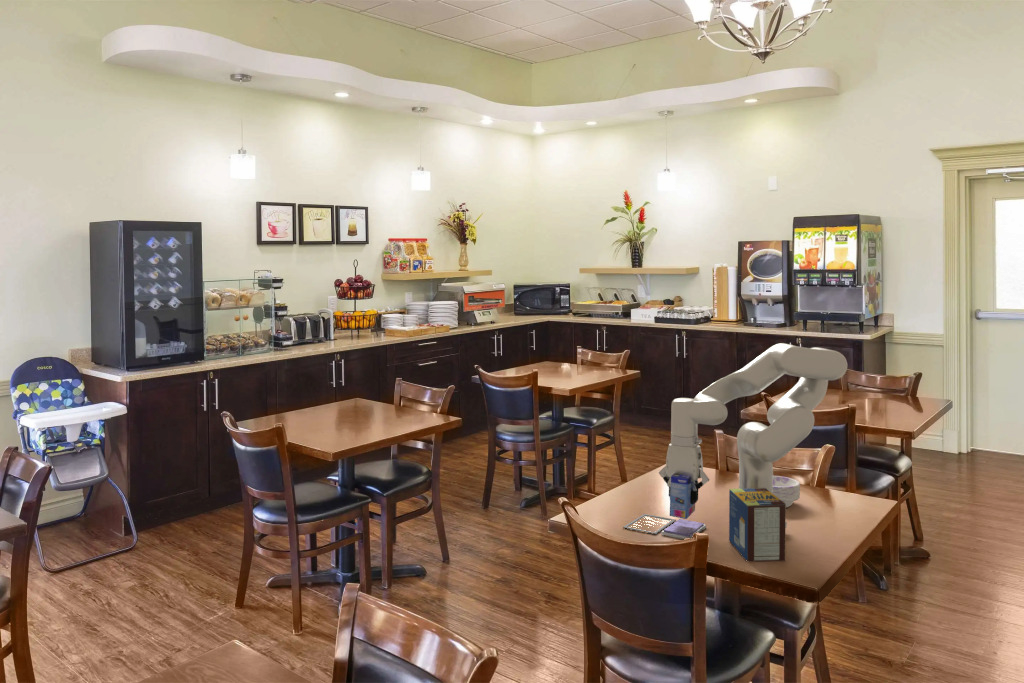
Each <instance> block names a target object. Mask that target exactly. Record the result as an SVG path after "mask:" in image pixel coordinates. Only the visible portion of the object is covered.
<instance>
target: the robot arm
mask: <svg viewBox="0 0 1024 683" xmlns="http://www.w3.org/2000/svg"><path fill="white" fill-rule="evenodd" d="M847 371H848V362H847V358H846V357H845V356H844V354H842V353H841V352H839V351H837V350H833V349H828V348H823V347H804V346H798V345H793V344H789V343H784V342H783V343H782V342H781V343H776V344H774V345H772V346H770V347H768V348H767V349H766V350H765V351H764V352H762V353H760V355H758V356H757V357H756V358H754V359H753V360H751V361H750V362H748V363H747V364H746V365H744V366H743V367H742V368H740V369H739V370H736V371H734V372H732V373H730V374H728V375H726V376H724V377H722V378H720V379H718V380H716V381H715V382H712V383H711V384H710V385H709V386H707V387H706V388H704V389H702V391H699V393H698V394H696V395H695V397H694V398H691V397H690V398H689V397H678V398H674V399H673V400H672V401H671V406H670V407H671V411H670V412H671V413H670V414H671V417H670V418H671V419H670V443H669V444H668V448H667V452H666V460H665V465H664V467H662V468H661V469H660V470H659V472H658V475H659V476H660V477H661V478H662V479H663V481H664V482H665V483H666V486H667V487H668V497H669V498H670V489H671V476H672V475H673V474H681V475H686V476H690V478H691V486H692V491H691V502H690V503H691V504H694V503H695V504H697V502H698V501H699V490H700V489H701V488H702V487H703V486H704V485H706V484H707V483H708V482H709V481H710V478H709V476H708V475H707V474H706V473H705V471H704V463H703V455H702V449H701V446H700V445H699V444H702V443H703V440H702V438H699V435H698V432H699V431H698V428H699V427H698V425H708V426H716V425H720V424H722V423H724V422H725V420H726V419H727V417H728V408H727V406H726V404H727V403H729V402H731V401H733V400H736V399H738V398H744V397H749V396H754V395H756V394H759V393H760V392H762V391H763V390H765V389H766V388H767V387H770V385H772V383H774V382H775V381H777V380H778V379H780V378H781V377H783V376H784V375H788V376H793V377H798V378H799V379H798V381H797V382H796V383H795V384H794V385H793V387H791V389H789V390H788V391H787V392H786V393H785V394H783V395H782V396H781V397H780V398H779V399H777V400H776V401H775V402H774V403H773V404H772V405H771V406H770V407H769V408H768V410H767V413H766V419H767V421H768V423H769V424H770V425H769V426H768V425H766V424H763V423H762V422H758V421H750V422H749V421H748V422H747V423H744V424H743V425H742V426H741V427H740V428H739V430H738V432H737V435H736V447H737V454H738V468H739V469H738V489H742V488H766V489H767V490H768V491H770V492H771V493H772V494H773V476H774V467H773V463H775V462H777V461H779V460H780V459H782V458H784V457H785V456H787V454H788V453H790V452H791V451H792V450H793V449H794V448H796V447H797V446H798V445H799V444H800V443H801V442H803V441H804V440H805V439H806V438H807V437H808V436H809V435H810V433H811V432H812V430H813V428H814V425H815V415H814V412H813V411H814V410H815V409H816V407H817V406H819V405H820V404H821V402H822V401H823V400H824V398H825V396H826V395H827V394H826V393H827V390H828V387H829V386H828V385H829V381H836V380H839V379H841V378H842V377H843V376H844V375H845V374H846V372H847ZM698 479H701V481H700V482H699V480H698ZM787 526H788V524H787V521H786V525H785V530H786V529H787Z"/></svg>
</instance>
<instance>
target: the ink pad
mask: <svg viewBox="0 0 1024 683" xmlns="http://www.w3.org/2000/svg"><path fill="white" fill-rule="evenodd" d="M706 528H707V524H705V523H704V522H699V521H692V520H690V519H689V520H688V519H683V518H679V519H677V520H676V521H675V522H674V523H673V524H671V525H670V526H668V527H667V528H665V529H664V530H662V531H661V535H662V534H663V535H662V536H664V535H667V536H666V537H669V536H670V538H674V539H679V540H684V539H685V538H692V536H693V534H694V533H697V532H700V533H702V532H703V531H704V530H706ZM702 530H703V531H702ZM692 539H693V538H692Z"/></svg>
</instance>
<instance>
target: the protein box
mask: <svg viewBox="0 0 1024 683" xmlns="http://www.w3.org/2000/svg"><path fill="white" fill-rule="evenodd" d="M728 493H729V494H728V495H729V497H728V498H729V509H728V510H729V511H728V512H729V514H728V520H729V522H728V523H729V524H728V528H729V529H728V531H729V532H728V534H729V535H728V542H729V541H730V542H731V543H732V544H733V545H732V544H731V543H730V542H729V543H730V544H731V545H732V546H733V547H734V546H735V547H736V549H737V550H738V551H739V552H740V553H741V554H742V555H741V554H740V553H739V552H738V551H737V550H736V549H735V550H736V551H737V552H738V553H739V554H740V555H741V557H742V556H743V557H744V558H745V559H746V560H747V561H756V562H775V561H779V562H780V561H781V562H782V561H783V562H784V561H786V529H785V525H786V522H787V521H786V518H787V517H786V515H787V514H786V512H787V511H786V510H787V509H786V508H787V507H786V504H785V503H784V502H783V501H781V500H780V499H779V498H777V497H776V496H775V495H774V494H772V493H771V492H770V491H768V490H767V489H766V488H742V489H739V488H729V492H728ZM735 547H734V548H735ZM743 557H742V558H743ZM744 558H743V559H744ZM745 559H744V560H745ZM746 560H745V561H746ZM747 561H746V562H747Z"/></svg>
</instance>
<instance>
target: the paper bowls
mask: <svg viewBox="0 0 1024 683" xmlns="http://www.w3.org/2000/svg"><path fill="white" fill-rule="evenodd" d="M800 493H801V483H800V481H799V480H796V479H794V478H792V477H787V476H783V475H782V476H780V475H773V494H774V495H775V496H776V497H777V498H779V499H780V500H781V501H783V502H784V503H785V504H786V508H789V507H791V505H792V504H793V503H794V502H795V501H798V500H799V499H800V495H801V494H800Z"/></svg>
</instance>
